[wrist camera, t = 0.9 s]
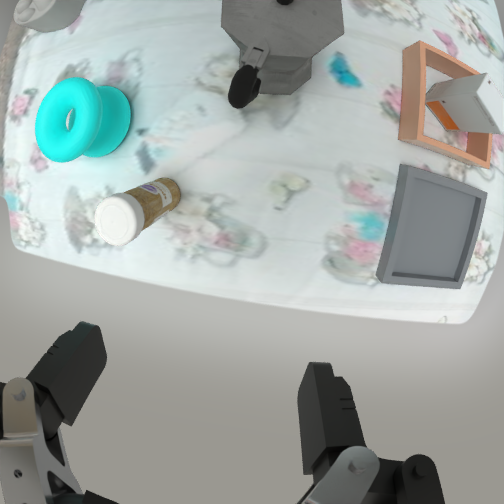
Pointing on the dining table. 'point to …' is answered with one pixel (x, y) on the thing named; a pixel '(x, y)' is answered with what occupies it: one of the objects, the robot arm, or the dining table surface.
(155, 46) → the dining table surface
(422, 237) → the grey tray
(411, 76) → the orange square frame
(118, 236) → the sprinkles bottle
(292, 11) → the coffeepot
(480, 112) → the skincare box
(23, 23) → the lumpy-topped squat cylinder
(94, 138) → the donuts
